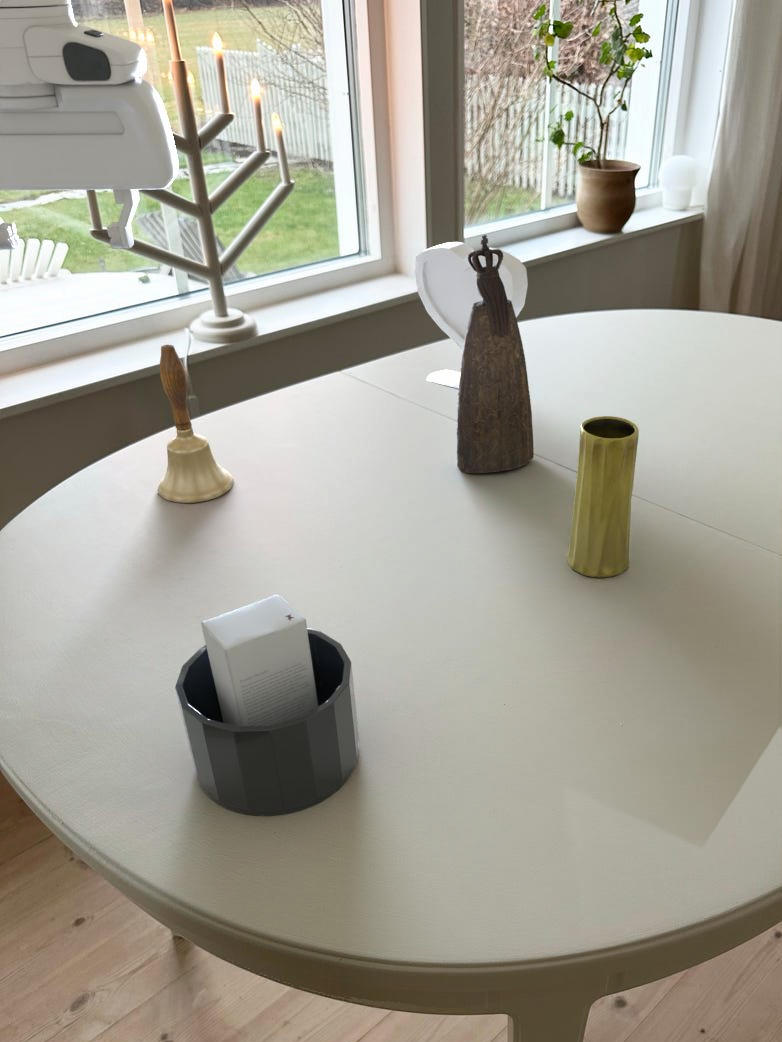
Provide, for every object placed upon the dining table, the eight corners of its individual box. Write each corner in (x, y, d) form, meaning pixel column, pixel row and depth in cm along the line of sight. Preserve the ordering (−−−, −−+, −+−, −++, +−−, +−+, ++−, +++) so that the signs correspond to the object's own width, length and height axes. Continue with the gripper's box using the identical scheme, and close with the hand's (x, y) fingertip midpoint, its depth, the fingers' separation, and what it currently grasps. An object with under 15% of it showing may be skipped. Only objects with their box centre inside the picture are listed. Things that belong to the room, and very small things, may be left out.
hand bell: (148, 503, 104) (115, 360, 95) (170, 469, 111) (142, 332, 102) (223, 504, 104) (198, 361, 95) (241, 470, 111) (219, 333, 101)
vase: (614, 585, 91) (628, 446, 83) (556, 568, 94) (564, 432, 85) (638, 556, 95) (653, 421, 87) (582, 541, 98) (591, 409, 89)
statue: (485, 443, 117) (486, 226, 102) (540, 456, 114) (549, 235, 99) (448, 470, 111) (444, 244, 96) (505, 485, 108) (510, 254, 93)
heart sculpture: (415, 377, 135) (409, 243, 124) (436, 367, 138) (432, 235, 127) (507, 401, 128) (510, 261, 117) (527, 389, 131) (531, 252, 120)
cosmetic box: (298, 719, 74) (280, 591, 67) (325, 749, 72) (308, 619, 65) (226, 751, 71) (198, 620, 64) (251, 784, 69) (225, 650, 62)
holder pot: (181, 818, 67) (158, 733, 62) (213, 707, 76) (195, 626, 72) (353, 813, 67) (344, 728, 62) (363, 704, 77) (355, 622, 72)
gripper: (-146, 56, 68) (-79, 259, 76) (144, 55, 69) (180, 256, 77) (-106, 48, 73) (-47, 239, 81) (164, 48, 74) (195, 237, 82)
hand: (65, 247), depth 79 cm, fingers open, 8 cm apart
